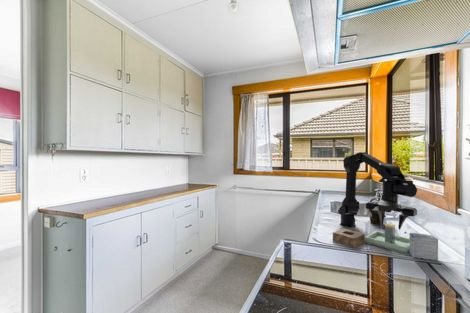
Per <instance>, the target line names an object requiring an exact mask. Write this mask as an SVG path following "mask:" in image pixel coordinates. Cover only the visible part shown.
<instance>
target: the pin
mask: <svg viewBox="0 0 470 313" xmlns="http://www.w3.org/2000/svg"><path fill="white" fill-rule="evenodd" d="M384 233H385V242H389V243H392V244H393V243H395V235H396V224H392V223H385V224H384Z"/></svg>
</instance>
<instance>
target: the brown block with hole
mask: <svg viewBox="0 0 470 313" xmlns="http://www.w3.org/2000/svg"><path fill="white" fill-rule="evenodd" d="M364 237H365V233H363V232H359V231H356V230H352V229H348V228H341V229H338V230H335V231H333V232H332V241H333V240H334V241H333V242H335V241H337V242H336V243H338V242H339V243H338V244H341V245H345V246H348V247H351V248H357V247H359V246H360V245H362V244H364V243H365V242H364Z"/></svg>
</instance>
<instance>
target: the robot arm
mask: <svg viewBox="0 0 470 313" xmlns="http://www.w3.org/2000/svg"><path fill="white" fill-rule="evenodd" d="M342 161H343V163H342V164H343V169H344V170H345V172H346V176H345V177H346V180H345V196H344V199H343V200H342V202H341V206H339V208H338V209H337V212H338V214H339V215H340V222H339V225H340V226H343V225H344V227H347V228H352V227H355V226H356V218H355V216H357V215H358V213H359V209H360V201H358V199H357V198H356V193H357V191H356V190H357V172H358V171H359V169H360V168H361V164H363V163H364V164H366V165H368V166H370V167H371V168H373V169H374V170H375V171H376V173H377V175H379V176H381V179H379V180H378V183H382V195H381V198H380V200H379V201H378V202H376V201H368V202H366V203H365V209H366V210H369V209H371V211H373V212H374V213H375V215H376V217H377V220H378V222H379V225H378V226H380V225H381V224H382V211H385V213H391V212H397V213H400V214H399V215H398V230H401V228H402V226H403V224H404V223H405V221H406V220H407V218H409V217H412V218H413V217H416V216H417V215H418V210H417V208H416V207H410V206H405V207H399V203H398V202H399V200H398V199H399V196H403V197H409V198H413V197H415V196H416V195H417V193H418V188H417V186H416V185H415V184H414V180H408V179H407V178H406V177H405V176H404V173H403V172H402V170H401V168H400V167H399V166H398V165H395V164H392V163H386V162H384V161H382V160H381V159H378V158H376V157H375V156H373V155H371V154H369V153H368V152H366V151H365V152H364V151H359V152H356V153H353V154H352V155H348V156H345V157H344V158H343V160H342ZM381 226H382V225H381Z"/></svg>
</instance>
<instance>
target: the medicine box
mask: <svg viewBox="0 0 470 313" xmlns="http://www.w3.org/2000/svg"><path fill="white" fill-rule="evenodd" d="M409 239H410V246H409V247H410V249H409V252H408V253H409V254H410V256H412V258H414V257H417V258H416V259H421V258H423V259H424V260H429V259H431V261H439V238H437V237H436V236H434V235H433V234H426V233H425V234H424V233H413V232H409Z"/></svg>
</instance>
